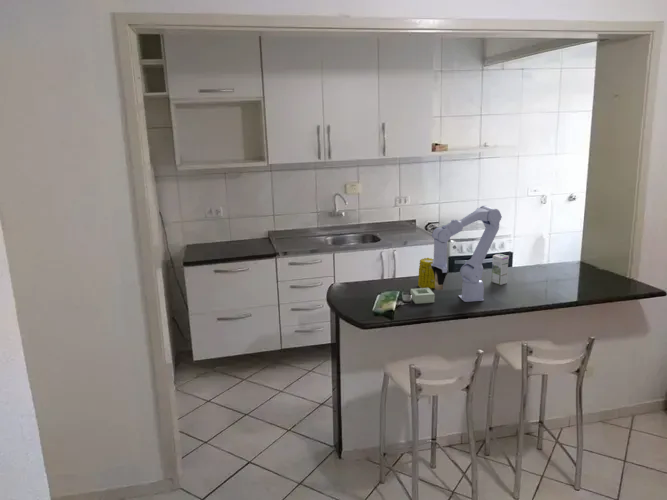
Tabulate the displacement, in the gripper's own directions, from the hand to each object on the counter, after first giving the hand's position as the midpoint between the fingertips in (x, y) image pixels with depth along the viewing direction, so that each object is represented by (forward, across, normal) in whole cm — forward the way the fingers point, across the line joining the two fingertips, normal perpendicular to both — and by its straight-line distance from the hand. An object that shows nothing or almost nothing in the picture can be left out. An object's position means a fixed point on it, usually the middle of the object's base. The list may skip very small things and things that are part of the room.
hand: (439, 283), depth 241 cm
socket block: (+10, -6, -6) cm, 13 cm away
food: (+10, -23, +2) cm, 25 cm away
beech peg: (+3, 0, 0) cm, 3 cm away
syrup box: (+10, -22, +39) cm, 46 cm away
